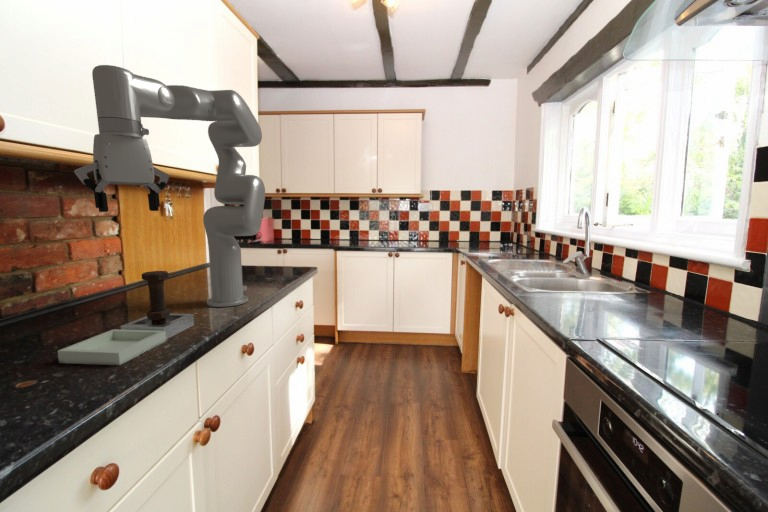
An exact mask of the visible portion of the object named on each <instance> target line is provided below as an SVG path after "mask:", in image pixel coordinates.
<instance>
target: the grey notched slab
mask: <svg viewBox="0 0 768 512" xmlns="http://www.w3.org/2000/svg"><path fill="white" fill-rule="evenodd" d="M166 320H167V321H166V324H164V325H152V321H151V320H149V319H148V318H147V315H146V316H144V317H140V318H138V319H135V320H133V321H130V322H127V323H125V324H122V325H120V330H150V331H165V333H166V340H169V338H172V337H174V336H176V335H177V334H179V333H181V332H183V331H186V330H187V329H189V328H191V327H194V326H195V318H194V314H193V313H173V312H172V313H170V316H169V317H167V318H166Z"/></svg>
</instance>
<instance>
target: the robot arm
mask: <svg viewBox="0 0 768 512" xmlns="http://www.w3.org/2000/svg"><path fill="white" fill-rule="evenodd" d="M91 75H92V84H93V91H94V100H95V109H96V118H97V127H98V133H97V134H94V137H93V146H92V147H93V149H92V163H89V164H87V165H84V166H82V167H79V168H76V169H75V170H74V171H73V172H74V174H75V176H76V177H77V178H78V179H79V181H80V182H81V184H82V185H83V186H85V187H86V188H87V189H89V190H90V191H91V192H92V193H93V196H94V204H95V208H96V209H98V213H107V212H109V206H108V198H107V197H108V196H107V193H106V192H105V191H104V190H105V189H106V188H107V186H108V185H126V186H127V185H130V186H131V185H132V186H141V185H143V186H144V187H145V189H147V190H148V191H149V193H147V200H148V201H147V202H148V209H149V211H151V212H158V211H159V210H160V209H159V208H160V207H161V203H160V193H161V192H162V190H164V189H165V187H166V186H167V183H168V181H169V180H170V179H169V178H170V177H171V176H170V175H169V174H168V173H166V172H164V171H163V170H161V169H159V168H157V167H155V166H154V165H153V158H152V153H151V150H150V147H149V143H148V142H147V139H146V138H144V136H149V134H150V130H149V129H148V128H145V127H144V125H143V124H142V118H150V119H151V118H152V119H153V118H155V119H156V118H157V119H168V120H177V121H178V120H182V121H183V120H185V121H187V120H188V121H201V122H203V121H204V122H211V123H210V124H209V125H208V126H207V127H208V128H207V133H208V134H207V135H208V138H209V141H210V142H211V145H212V147H213V148H214V151H215V153H216V155H217V159H218V166H217V172H216V178H215V183H214V189H213V190H214V191H213V193H214V194H213V195H214V198H215V200H216V201H217V202H219V203H220V204H224V205H215V206H212V207H210V208H208V209H206V210H205V212H204V214H203V217H202V218H203V219H202V220H203V221H202V222H203V227H204V230H205V234H206V238H207V239H206V240H207V244H208V257H209V258H208V260H209V261H208V262H209V274H210V277H209V278H210V289H211V292H210V293H211V297H210V298H208V299H207V300H206V305H207V306H208V307H213V308H214V307H215V308H216V307H217V308H225V307H232V306H233V307H234V306H239V305H242V304H247V302H248V301H249V296H247V295H244V292H246V291H247V290H248V286H246V285H243V269H242V265H243V264H242V250H241V246H240V244H239V243H238V241H237V239H236V238H235V237H248V236H249V237H250V236H255V235H257V234H258V233H259V232H260V230H261V226H262V222H263V216H264V214H263V213H264V210H265V209H264V208H265V200H266V187H265V184H264V181H263V180H262V179H261V178H260V177H259V176H257V175H253V174H247V173H246V171H247V164H246V161H245V160H244V158H243V156H241V154H240V153H239V152H238V150H237V149H236V148H252V147H257V146H258V145H260V143H261V142H262V141H263V140H262V139H263V133H262V129H261V126H260V123H259V122H258V120H257V119H256V117H255V115H254V114H253V112H252V110H251V108H250V107H249V105H248V104H247V102H246V101H245V99H244V98H243V97H242V96H241V94H239V93H238V92H237V91H236V90H233V89H223V90H221V89H220V90H207V89H202V88H196V87H192V86H188V85H182V84H180V85H179V84H178V85H177V84H176V85H175V84H169V85H168V84H167V85H166V83H164V82H162V81H160V80H158V79H154V78H150V77H146V76H144V75H143V76H142V75H138V74H135V73H133V72H132V71H131V70H128V69H127V68H123V67H120V66H117V65H116V66H115V65H109V64H100V65H99V64H98V65H97V66H94V67H93V69H92V73H91ZM91 172H93V176H94V180H95V181H96V182H94V181H93V180H92V179H90V177H89V176H88V173H91ZM155 176H157V177H159V181H158V182H157V183H155Z"/></svg>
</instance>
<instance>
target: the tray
mask: <svg viewBox="0 0 768 512" xmlns="http://www.w3.org/2000/svg"><path fill="white" fill-rule="evenodd" d="M166 342H167V339H166V333H165V331H150V330H121V329H114V328H113V329H110V330H108V331H106V332H102V333H100V334H98V335H95V336H91V337H89V338H87V339H84V340H82V341H79V342H76V343H74V344H72V345H69V346H67V347H63V348H61V349H59V350H57V358H58V363H59V364H75V365H76V364H81V365H102V366H103V365H105V366H106V365H107V366H122V365H123V364H126V363H127V362H129V361H131V360H132V359H135V358H137V357H139V356H141V355H142V353H143V354H144V352H145V353H146V351H147V352H148V351H150V350H153V349H154V348H156V347H158V346H160V345H162V344H164V343H166ZM140 354H141V355H140Z"/></svg>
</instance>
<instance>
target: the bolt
mask: <svg viewBox="0 0 768 512" xmlns="http://www.w3.org/2000/svg"><path fill="white" fill-rule="evenodd" d="M169 278H170V276H169V272H168V271H166V270H153V271H147V272H143V273H142V274H141V280H143V281H146V282H147V286H148V295H149V296H148V297H149V307H150V308H149V309H150V310H148V311H147V312H146V316H147V318H148V319H149V320H151V321H152V325H164V324H166V321H167V320H166V318H167V317H169V316H170V309H169V308H166V299H165V296H166V295H165V287H164V286H165V280H166V279H169ZM164 279H165V280H164Z"/></svg>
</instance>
